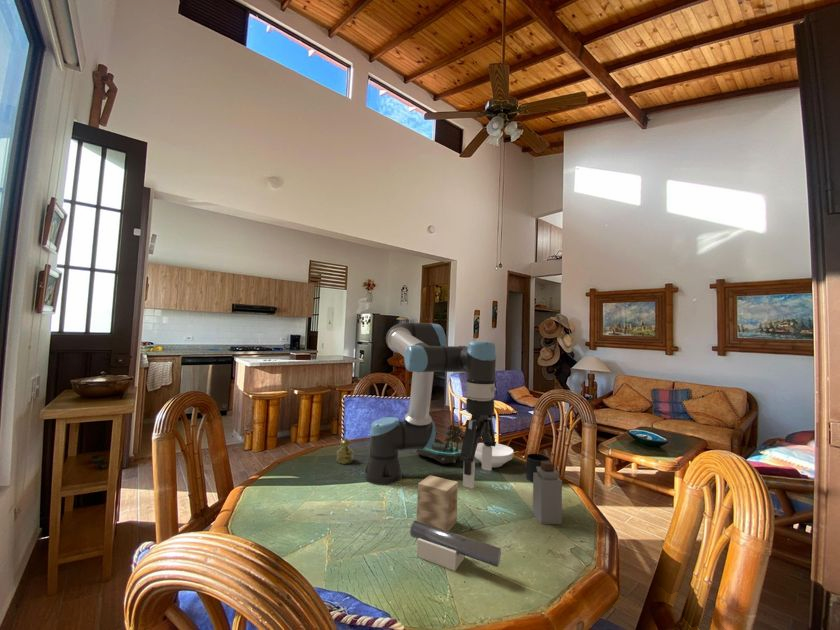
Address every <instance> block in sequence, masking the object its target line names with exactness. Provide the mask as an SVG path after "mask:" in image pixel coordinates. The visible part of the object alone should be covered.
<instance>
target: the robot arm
mask: <svg viewBox="0 0 840 630" xmlns="http://www.w3.org/2000/svg"><path fill="white" fill-rule="evenodd" d="M385 342H386V345H387V347H388V349H390V350H391V351H392V352H394V353H397V354H399V355H401V356H403V358H404V359H403V360H404V365H405V369H406V371H408V372H412V378H411V387H410V397H409V405H408V406H409V408H408V412H407V413H406V414H405V415H404V420H400V419H399V417H395V416H392V417H391V416H389V417H388V416H386V417H381V418H379V419H375V420H373V422H372V423H371V425H370V433H369V434H370V439H369V440H370V441H369V443H370V444H369V457H368V461H367V465H366V466H365V469H364V479H365V481H367V482H369V483H371V484H375V485H390V484H394V483H397V482H400V480H401V479H402V477H403V476H402V473H403V472H402V467H401V464H400V461H399V451H413V450H415V449H419V450H421V449H426V448H429V447H431V446H432V444H433V443H434V441H435V438H436V437H435V436H436V435H437V434H436V433H437V432H436V431H437V430H436V429H437V428H436V424H435V422H434V421H433V418H432V416H431V415H430V407H431V401H432V400H431V399H432V391H433V381H434V373H443V372H444V373H466V377H467V378H466V391H465V392H466V394H465V395H466V397H467V398H466V399H465V401H466V402H465V411H466V413H468V414H470V415H471V419H469V420H468V419H466V421H465V431H464V433H463V434H464V435H463V438H462V439H463V443H462V446H461V449H460V450H461V455H460V459H459V460H460V461H463V469H462V471H463V472H462V473H463V475H462V486H463V487H465V488H469V489H474V488H475V471H476V470H475V468H476V465H475V464H476V461H475V460H474V459H475V457H474V456H475V452H476V448H477V445H478V443H479V441H480V439H481V440H482V443H484V445H483V446H482V463H481V470H485V471H489V472H491V471H492V469H493V467H492V447H491V446H494V447H495V445H496V444H497V442H496V438H495V437H496V436H495V429H494V423H493V414H494V413H495V400H494V398H495V392H496V391H497V387H496V385H495V384H496V383H495V381H496V363H497V361H496V360H497V353H496V344H495V343H494V342H493V341H484V340H481V341H479V340H474V341H473V340H471V341H469V342H468V345H458V346H452V345H451V346H449V345H447V337H446V333H445V329H444V328H443V327H442V325H440V324H438V323H431V322H400V323H396V324H395V325H393V326H392V327H390V329H388V331H387V333H386V336H385Z"/></svg>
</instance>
